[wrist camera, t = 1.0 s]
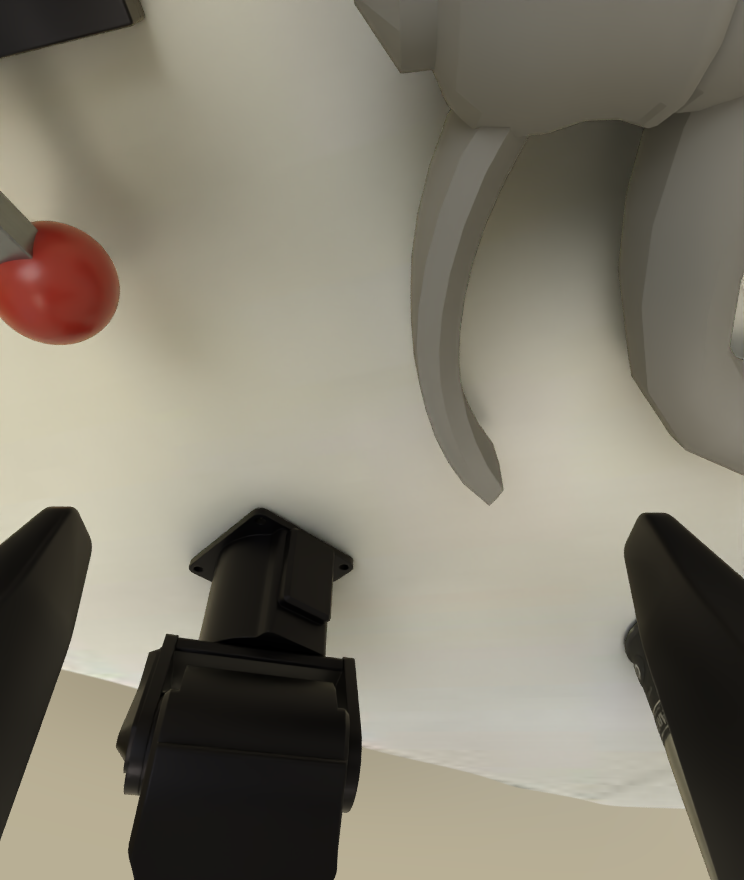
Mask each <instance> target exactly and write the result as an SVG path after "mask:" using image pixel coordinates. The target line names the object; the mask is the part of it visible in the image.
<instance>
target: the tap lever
mask: <svg viewBox="0 0 744 880" xmlns="http://www.w3.org/2000/svg"><path fill="white" fill-rule="evenodd" d="M119 296H120V285H119V278H118V274H117V271H116V268H115V266H114V264H113V262H112V260H111V258H110V256H109V255H108V254H107V252H106V251H105V250H104V248H103V247H102V246H101V245H100V244H99V243H98V242H97V241H96V240H94V239H93V238H92V237H91V236H89V235H88V234H86V233H85V232H83V231H81V230H79V229H77V228H75V227H72V226H70V225H67V224H64V223H59V222H53V221H35V222H30V221H29V220H28V219H27V218H26V217H25V216H24V215H23V214H22V213H21V212H20V211H19V210H18V209H17V208H16V207H15V206H14V205H13V204H12V203H11V201H10V200H9V199H8V198H7V197H6V196H5V195H4V194H3V193H2V192H1V191H0V317H1V318H2V320H3V321H4V322H5V323H6V324H7V325H9V326H10V327H11V328H12V329H14V330H15V331H16V332H18V333H20V334H21V335H23V336H25V337H27V338H30V339H32V340H35V341H38V342H41V343H46V344H53V345H67V344H74V343H78V342H81V341H84V340H87V339H89V338H91V337H93V336H94V335H96V334H97V333H99V332H100V331H101V330H102V329H103V328H104V327H105V326H106V325H107V324H108V323H109V322H110V320H111V319H112V317H113V315H114V314H115V311H116V309H117V306H118V302H119Z"/></svg>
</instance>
